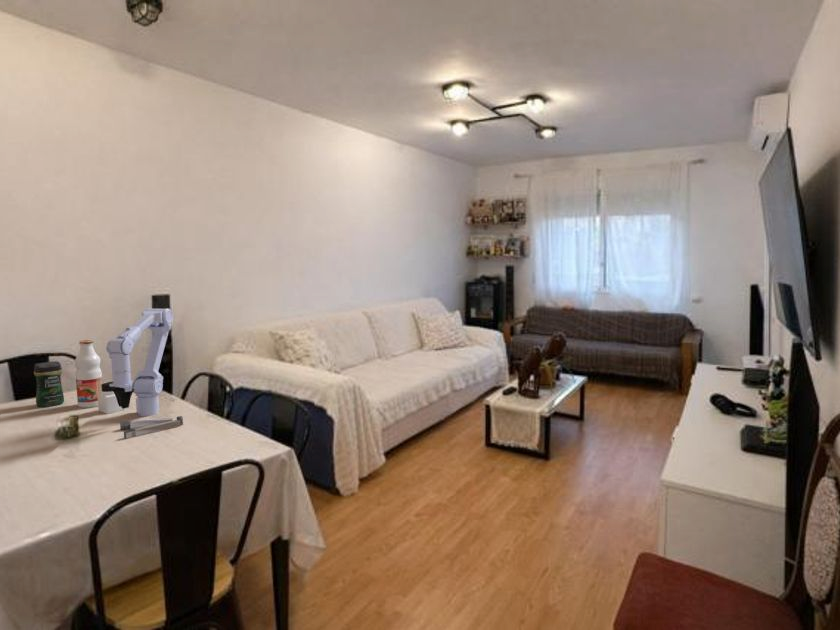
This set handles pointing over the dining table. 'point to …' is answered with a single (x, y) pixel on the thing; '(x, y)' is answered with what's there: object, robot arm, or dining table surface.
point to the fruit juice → (88, 375)
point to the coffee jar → (48, 384)
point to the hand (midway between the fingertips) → (123, 407)
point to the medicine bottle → (108, 399)
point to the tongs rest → (154, 428)
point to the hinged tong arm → (142, 423)
